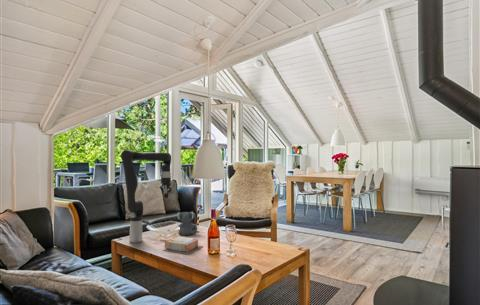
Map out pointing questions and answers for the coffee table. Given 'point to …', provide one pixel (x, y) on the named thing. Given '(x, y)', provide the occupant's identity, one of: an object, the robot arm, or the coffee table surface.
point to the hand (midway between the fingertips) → (166, 197)
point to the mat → (183, 251)
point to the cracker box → (181, 244)
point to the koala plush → (186, 223)
